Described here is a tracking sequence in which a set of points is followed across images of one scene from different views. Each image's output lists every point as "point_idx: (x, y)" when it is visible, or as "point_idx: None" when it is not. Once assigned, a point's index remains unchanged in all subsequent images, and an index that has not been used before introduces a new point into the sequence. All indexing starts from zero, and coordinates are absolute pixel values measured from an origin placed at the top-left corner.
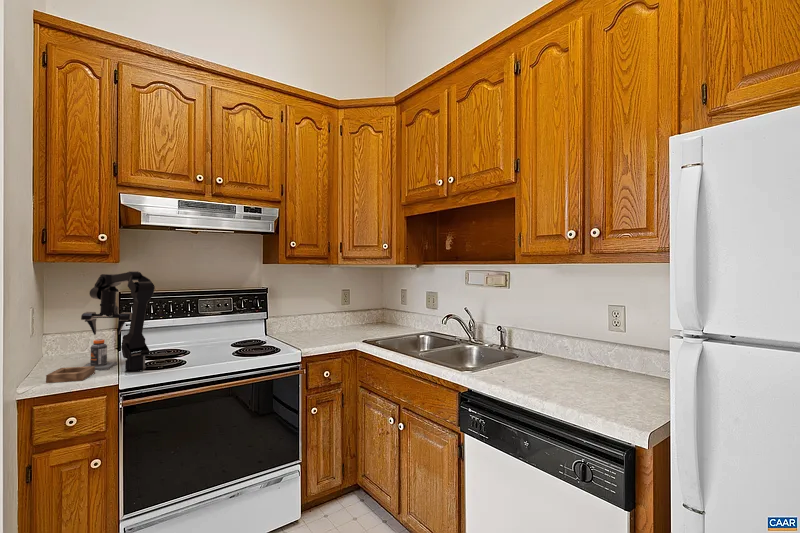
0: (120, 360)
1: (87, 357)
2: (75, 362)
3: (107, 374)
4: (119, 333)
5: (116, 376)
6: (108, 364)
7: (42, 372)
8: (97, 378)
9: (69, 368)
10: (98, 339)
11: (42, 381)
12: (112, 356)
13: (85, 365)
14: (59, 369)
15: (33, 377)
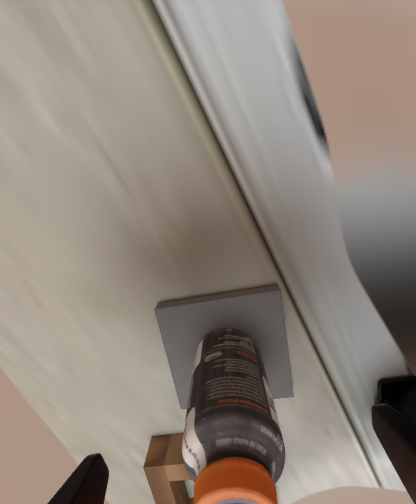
0: (251, 193)
1: (4, 90)
2: (41, 227)
3: (320, 446)
4: (395, 415)
5: (366, 473)
6: (267, 347)
7: (53, 395)
8: (309, 487)
9: (185, 479)
10: (213, 497)
11: (151, 496)
12: (139, 62)
13: (170, 356)
14: (157, 488)
15: (82, 453)
